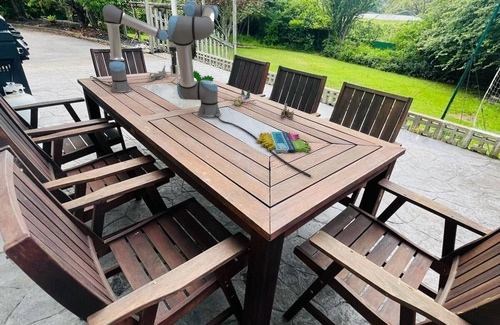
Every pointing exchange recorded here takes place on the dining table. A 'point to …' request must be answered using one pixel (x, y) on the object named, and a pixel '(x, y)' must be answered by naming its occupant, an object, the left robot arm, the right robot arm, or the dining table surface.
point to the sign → (283, 142)
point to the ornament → (198, 78)
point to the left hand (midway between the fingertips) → (174, 72)
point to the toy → (241, 99)
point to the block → (176, 71)
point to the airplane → (158, 75)
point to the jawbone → (287, 112)
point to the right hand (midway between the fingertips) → (193, 57)
